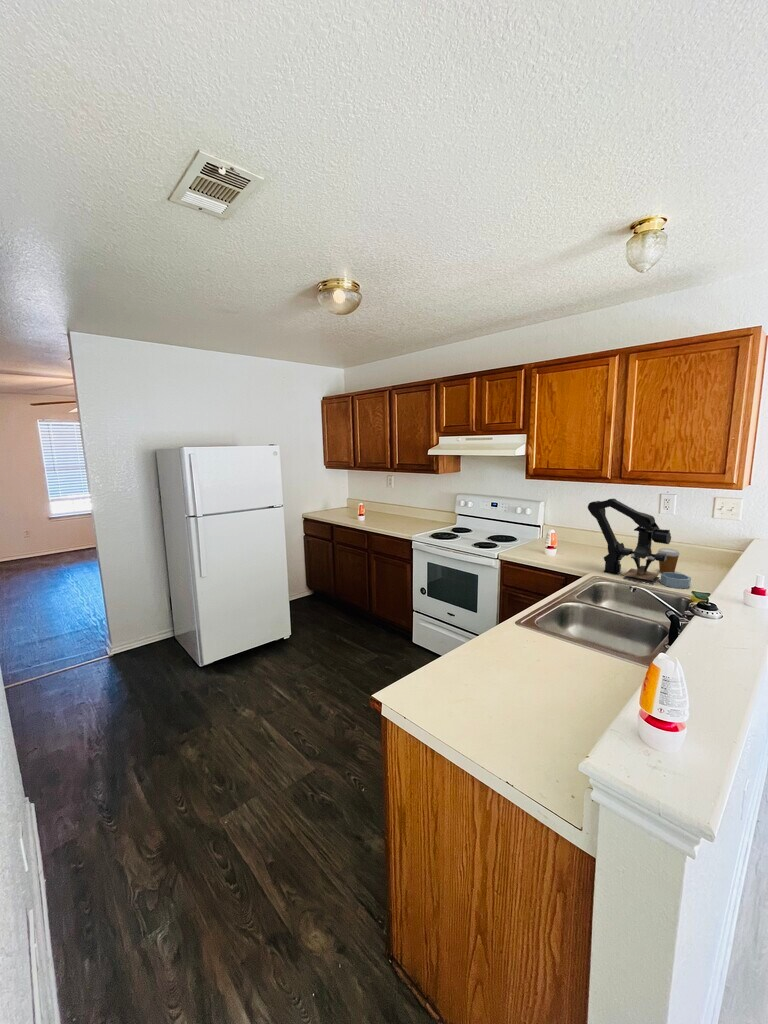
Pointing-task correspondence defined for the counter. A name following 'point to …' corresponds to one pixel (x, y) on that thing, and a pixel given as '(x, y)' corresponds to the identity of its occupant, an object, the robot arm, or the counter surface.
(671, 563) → the disposable coffee cup
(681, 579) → the bowl
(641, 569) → the cover
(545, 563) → the counter surface
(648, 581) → the mat
